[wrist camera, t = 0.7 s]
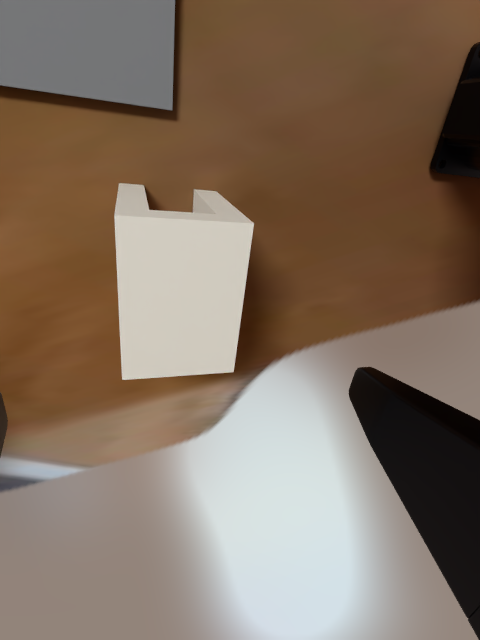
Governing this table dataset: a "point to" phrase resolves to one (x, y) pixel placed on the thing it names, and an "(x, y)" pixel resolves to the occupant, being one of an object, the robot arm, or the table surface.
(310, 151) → the table surface
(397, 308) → the table surface
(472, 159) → the robot arm
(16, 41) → the mat
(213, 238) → the white u-channel block
